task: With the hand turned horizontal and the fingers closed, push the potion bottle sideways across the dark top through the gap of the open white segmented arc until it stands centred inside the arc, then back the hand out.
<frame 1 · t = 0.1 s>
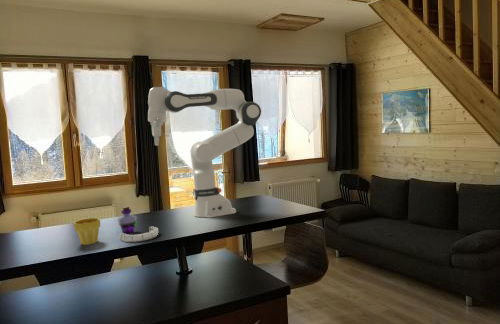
hand: (156, 145, 207), 39 cm above the table, tool pointing down, fingers open, 8 cm apart
plant pot: (89, 243, 175), on the table
potion bottle: (128, 232, 188), on the table
white segmented arc: (139, 236, 179), on the table
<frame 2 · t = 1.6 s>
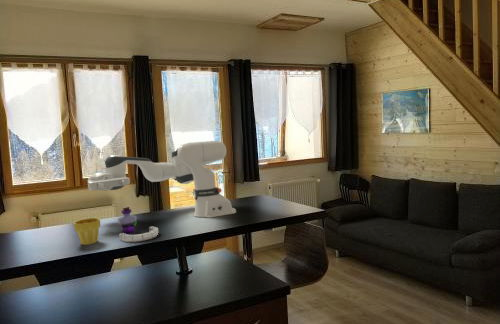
hand: (113, 184, 198), 22 cm above the table, tool horizontal, fingers open, 8 cm apart
nothing on the table moved.
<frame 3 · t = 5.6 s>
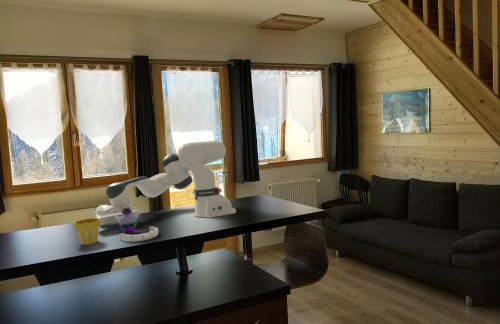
hand: (123, 218, 190), 6 cm above the table, tool horizontal, fingers closed, pressing on potion bottle
potion bottle: (128, 232, 188), on the table, touching gripper
everything else where it was.
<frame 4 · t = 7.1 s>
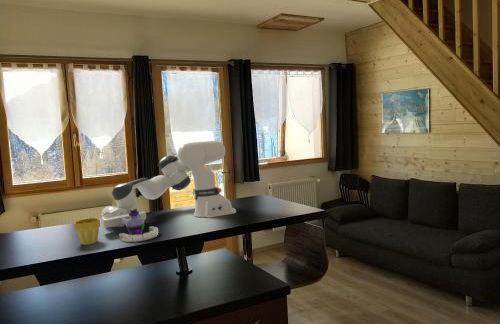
hand: (130, 221, 184), 6 cm above the table, tool horizontal, fingers closed, pressing on potion bottle
potion bottle: (136, 235, 181), on the table, touching gripper
everything else where it was.
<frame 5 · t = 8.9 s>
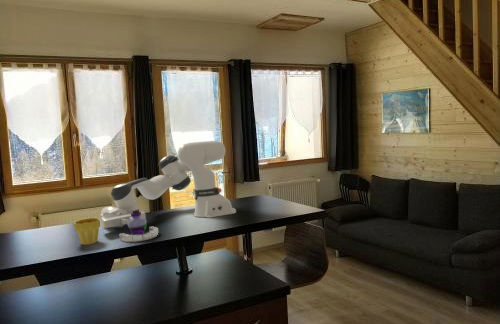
hand: (130, 221, 184), 6 cm above the table, tool horizontal, fingers closed
potion bottle: (138, 236, 180), on the table
everything else where it was.
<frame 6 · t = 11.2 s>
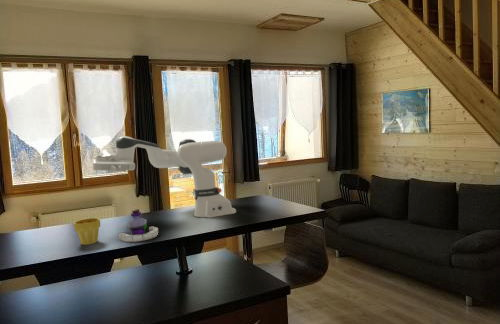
hand: (117, 169, 197), 29 cm above the table, tool horizontal, fingers closed
nothing on the table moved.
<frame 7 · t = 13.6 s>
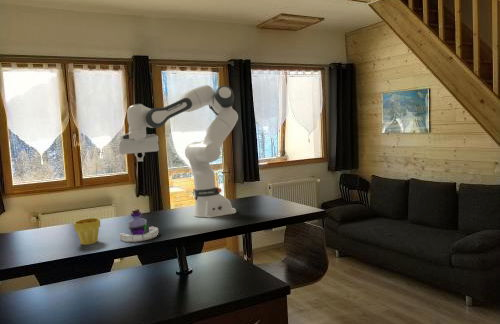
hand: (140, 161, 213), 31 cm above the table, tool pointing down, fingers closed
nothing on the table moved.
at the end: potion bottle 1.8 cm from the white segmented arc (horizontally); potion bottle tilted 0°; potion bottle moved 10.7 cm from its start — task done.
